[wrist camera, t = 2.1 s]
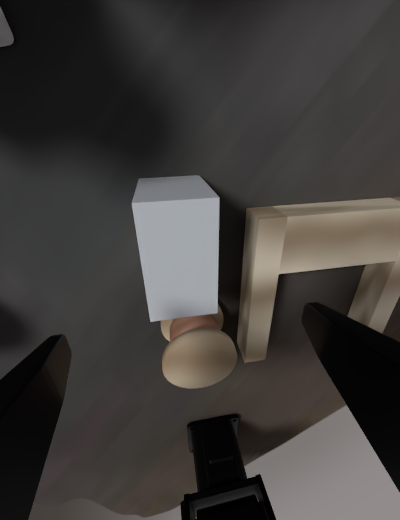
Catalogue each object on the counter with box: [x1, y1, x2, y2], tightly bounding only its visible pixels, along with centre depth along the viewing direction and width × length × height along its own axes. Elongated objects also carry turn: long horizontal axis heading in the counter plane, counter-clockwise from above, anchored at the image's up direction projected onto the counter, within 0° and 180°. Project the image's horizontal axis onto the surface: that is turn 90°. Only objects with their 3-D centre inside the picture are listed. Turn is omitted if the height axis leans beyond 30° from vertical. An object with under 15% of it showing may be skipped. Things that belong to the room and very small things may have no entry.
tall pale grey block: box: [132, 175, 219, 322], centre depth 15 cm, size 7×4×6 cm, turn 1°
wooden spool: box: [161, 304, 237, 388], centre depth 20 cm, size 6×6×5 cm
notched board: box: [237, 197, 400, 363], centre depth 21 cm, size 14×14×2 cm
